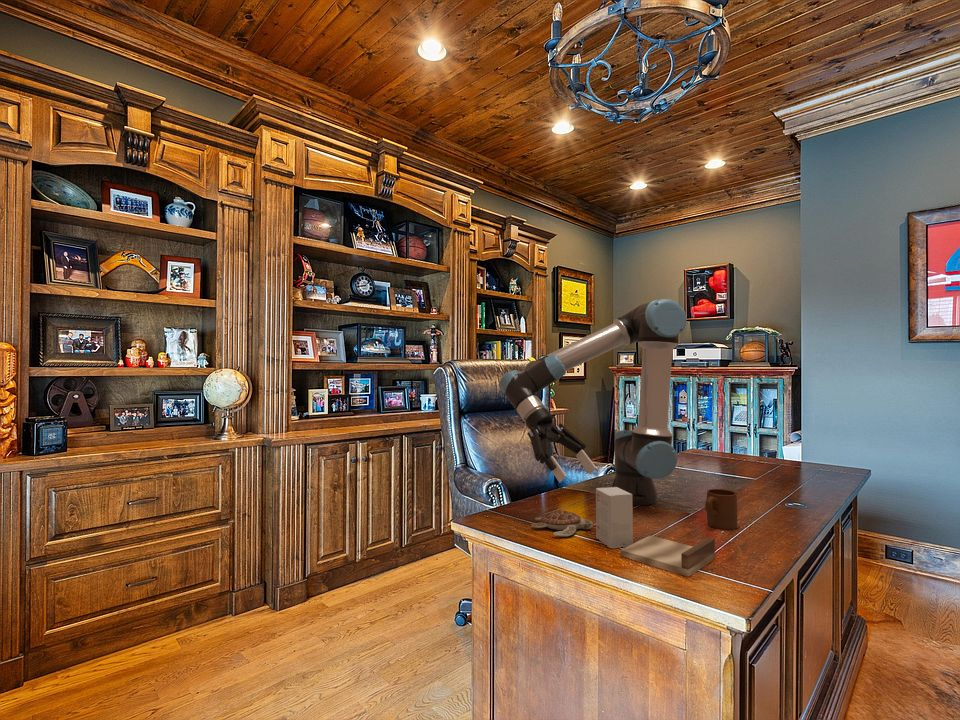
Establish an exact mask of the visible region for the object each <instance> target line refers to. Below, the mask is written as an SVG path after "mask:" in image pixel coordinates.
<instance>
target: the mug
mask: <svg viewBox="0 0 960 720" xmlns="http://www.w3.org/2000/svg"><path fill="white" fill-rule="evenodd" d="M704 505H705V506H704V508H705V512H706V521H707V522H706V523H707V525H708V526H710V527H711V528H713V529H717V530H722V531H723V530H724V531H731V530H735V529H736V528H737V527H738V497H737V493H736V491H733V490H729V489H724V488H723V489H721V488H711V489H707V491H706V500H705V503H704Z"/></svg>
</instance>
